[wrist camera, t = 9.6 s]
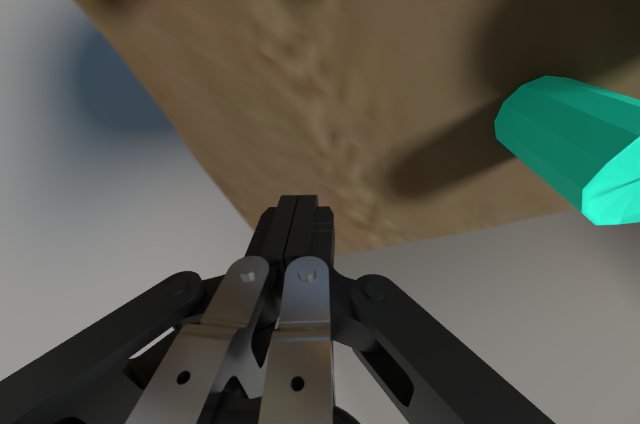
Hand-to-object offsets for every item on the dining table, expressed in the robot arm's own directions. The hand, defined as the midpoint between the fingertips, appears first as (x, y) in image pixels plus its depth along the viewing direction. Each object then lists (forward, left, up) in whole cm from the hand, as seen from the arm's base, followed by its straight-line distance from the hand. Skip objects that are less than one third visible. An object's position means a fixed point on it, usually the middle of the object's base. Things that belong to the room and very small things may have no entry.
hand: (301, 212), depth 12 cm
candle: (+1, +17, -14) cm, 22 cm away
